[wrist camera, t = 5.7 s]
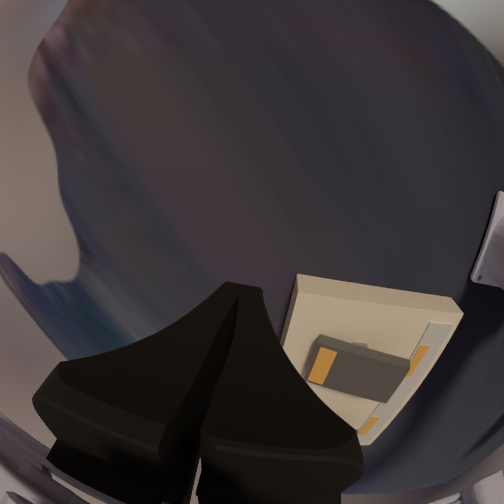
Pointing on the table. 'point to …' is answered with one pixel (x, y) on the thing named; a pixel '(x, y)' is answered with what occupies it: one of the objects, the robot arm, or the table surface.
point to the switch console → (368, 338)
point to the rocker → (356, 369)
